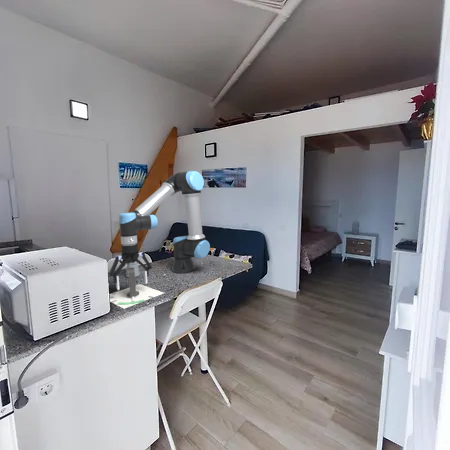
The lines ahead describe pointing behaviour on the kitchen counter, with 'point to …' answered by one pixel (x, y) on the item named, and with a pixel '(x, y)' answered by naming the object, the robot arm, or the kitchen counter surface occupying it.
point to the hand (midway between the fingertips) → (132, 285)
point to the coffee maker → (132, 267)
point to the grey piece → (132, 284)
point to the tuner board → (144, 294)
